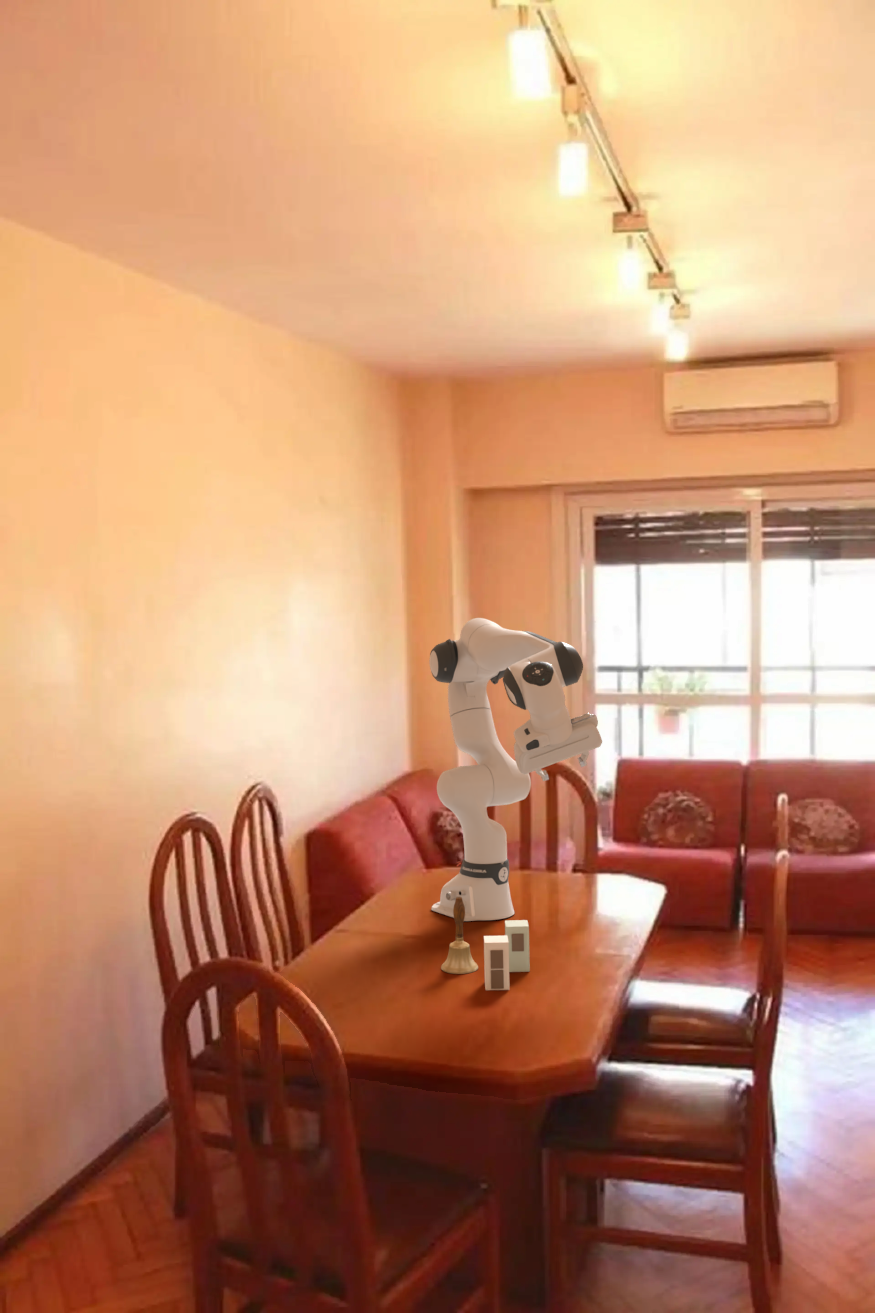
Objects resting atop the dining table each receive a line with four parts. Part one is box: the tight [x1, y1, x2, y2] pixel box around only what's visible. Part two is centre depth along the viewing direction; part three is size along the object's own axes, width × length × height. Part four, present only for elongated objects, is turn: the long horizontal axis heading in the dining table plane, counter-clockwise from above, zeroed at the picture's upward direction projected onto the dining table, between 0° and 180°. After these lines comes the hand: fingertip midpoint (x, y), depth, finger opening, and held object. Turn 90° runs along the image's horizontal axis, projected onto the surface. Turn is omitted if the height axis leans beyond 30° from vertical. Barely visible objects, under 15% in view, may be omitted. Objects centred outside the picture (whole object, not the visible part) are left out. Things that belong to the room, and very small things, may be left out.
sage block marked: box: [504, 919, 531, 973], centre depth 251 cm, size 5×5×10 cm
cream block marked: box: [483, 934, 511, 991], centre depth 240 cm, size 5×5×10 cm
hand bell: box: [440, 897, 479, 975], centre depth 252 cm, size 8×8×16 cm
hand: (564, 771), depth 265 cm, fingers open, 8 cm apart
